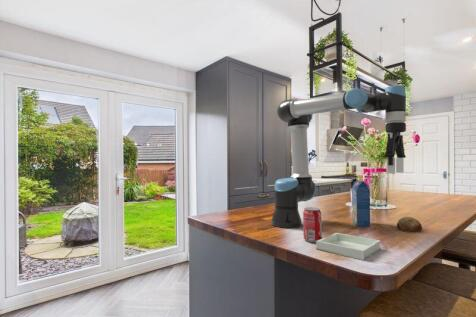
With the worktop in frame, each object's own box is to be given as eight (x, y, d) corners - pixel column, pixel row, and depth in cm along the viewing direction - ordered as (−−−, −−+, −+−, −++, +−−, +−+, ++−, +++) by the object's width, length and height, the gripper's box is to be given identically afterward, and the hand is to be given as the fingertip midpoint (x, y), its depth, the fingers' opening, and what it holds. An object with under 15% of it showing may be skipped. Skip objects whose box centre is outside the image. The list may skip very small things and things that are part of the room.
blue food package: (356, 226, 137) (356, 175, 137) (351, 221, 149) (351, 174, 149) (370, 227, 135) (369, 176, 136) (364, 222, 147) (364, 174, 148)
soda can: (322, 243, 108) (322, 210, 108) (303, 242, 110) (303, 209, 110) (320, 238, 115) (320, 207, 115) (303, 237, 117) (302, 206, 117)
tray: (316, 249, 101) (316, 241, 101) (336, 240, 113) (336, 232, 113) (363, 260, 90) (363, 251, 90) (380, 248, 101) (380, 240, 102)
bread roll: (396, 235, 134) (389, 220, 134) (414, 225, 135) (407, 211, 135) (410, 241, 124) (402, 225, 124) (429, 230, 125) (422, 214, 125)
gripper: (397, 118, 106) (398, 174, 105) (412, 125, 124) (412, 172, 124) (376, 120, 111) (376, 173, 111) (393, 126, 129) (393, 172, 129)
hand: (395, 173), depth 117 cm, fingers open, 13 cm apart
